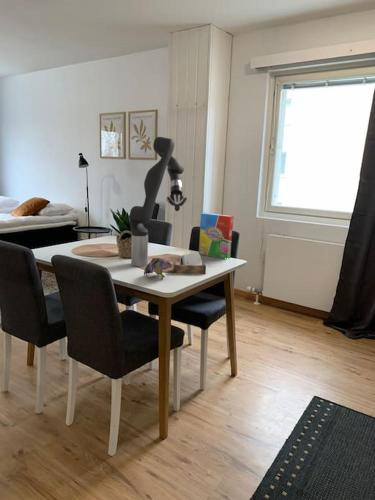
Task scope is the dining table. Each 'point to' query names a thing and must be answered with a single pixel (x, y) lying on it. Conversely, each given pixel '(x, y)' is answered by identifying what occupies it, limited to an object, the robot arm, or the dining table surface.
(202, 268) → the hinge pocket
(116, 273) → the dining table surface
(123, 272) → the dining table surface
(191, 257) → the grey rounded block
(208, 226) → the game box
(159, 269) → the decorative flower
